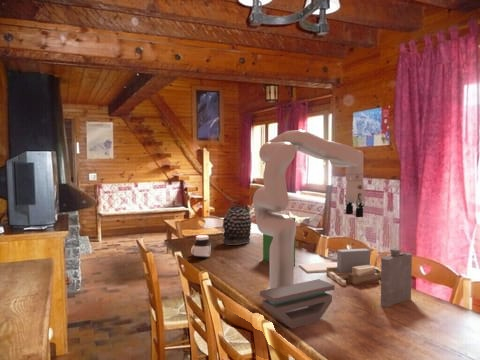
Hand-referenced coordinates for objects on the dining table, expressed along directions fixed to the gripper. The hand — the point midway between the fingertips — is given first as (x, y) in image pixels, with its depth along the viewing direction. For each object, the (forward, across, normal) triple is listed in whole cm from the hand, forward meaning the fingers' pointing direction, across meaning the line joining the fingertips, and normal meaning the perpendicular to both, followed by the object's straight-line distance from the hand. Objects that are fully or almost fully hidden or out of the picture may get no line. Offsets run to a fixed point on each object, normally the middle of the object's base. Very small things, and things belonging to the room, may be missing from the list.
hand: (354, 215), depth 179 cm
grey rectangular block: (+28, 0, 0) cm, 28 cm away
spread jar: (+28, +49, +66) cm, 87 cm away
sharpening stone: (+28, -43, +41) cm, 66 cm away
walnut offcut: (+28, -9, 0) cm, 30 cm away
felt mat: (+28, +14, +8) cm, 32 cm away
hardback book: (+28, +29, +27) cm, 49 cm away
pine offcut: (+24, -10, 0) cm, 26 cm away
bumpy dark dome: (+28, +79, +40) cm, 93 cm away
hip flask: (+28, -34, 0) cm, 44 cm away
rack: (+28, -5, 0) cm, 28 cm away
